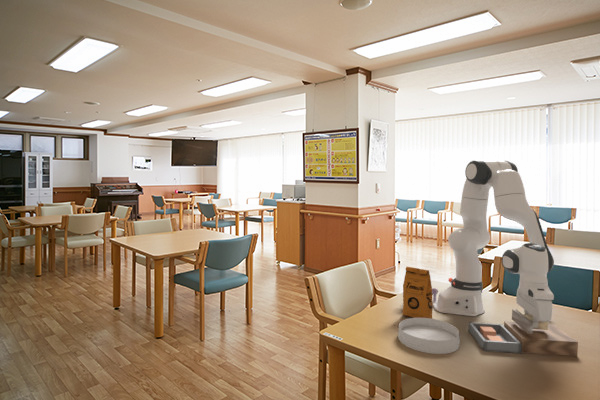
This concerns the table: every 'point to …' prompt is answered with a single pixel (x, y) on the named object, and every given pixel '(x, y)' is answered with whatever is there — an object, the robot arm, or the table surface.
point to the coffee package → (417, 293)
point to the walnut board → (544, 340)
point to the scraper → (527, 321)
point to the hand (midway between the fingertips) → (531, 324)
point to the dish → (429, 335)
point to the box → (506, 345)
